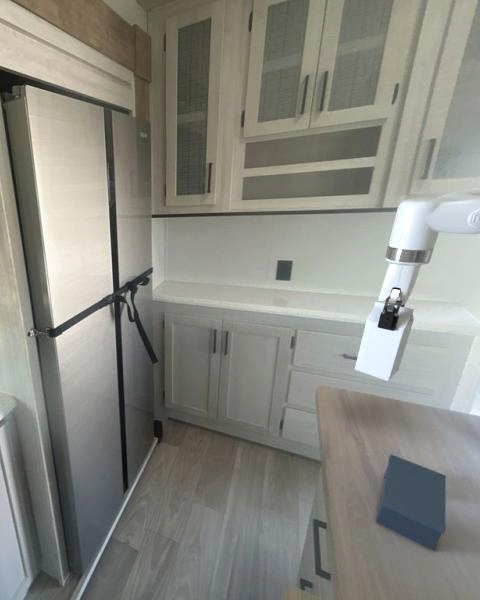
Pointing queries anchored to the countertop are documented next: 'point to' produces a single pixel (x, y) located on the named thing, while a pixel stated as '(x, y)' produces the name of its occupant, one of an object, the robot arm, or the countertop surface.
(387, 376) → the milk carton
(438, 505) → the navy blue slab
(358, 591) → the countertop surface
